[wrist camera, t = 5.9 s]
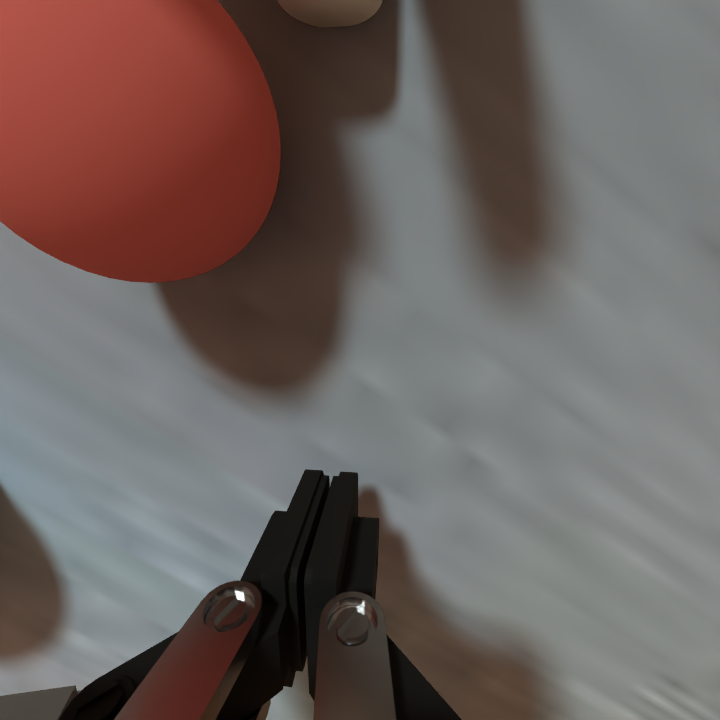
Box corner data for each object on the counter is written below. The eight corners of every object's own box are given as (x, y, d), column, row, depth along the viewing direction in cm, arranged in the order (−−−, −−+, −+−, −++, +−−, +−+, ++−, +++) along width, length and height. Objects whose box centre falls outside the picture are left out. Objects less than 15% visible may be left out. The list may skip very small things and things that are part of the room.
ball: (-444, -346, 3) (187, 312, 5) (183, -217, 6) (377, 151, 9) (-167, 117, 7) (104, 351, 10) (106, 43, 10) (251, 233, 13)
